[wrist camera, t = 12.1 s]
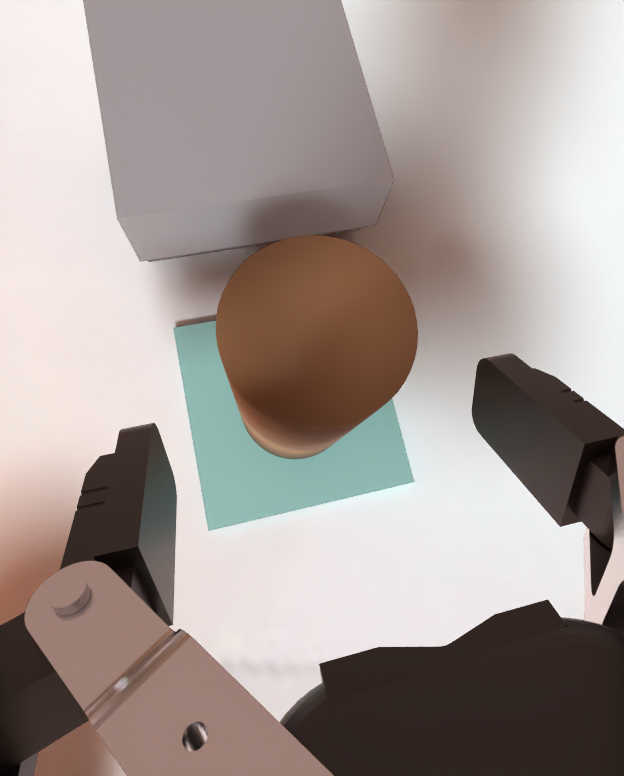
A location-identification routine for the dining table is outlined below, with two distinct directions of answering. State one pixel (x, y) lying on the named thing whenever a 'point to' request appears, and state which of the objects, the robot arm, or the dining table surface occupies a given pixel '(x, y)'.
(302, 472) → the teal pad
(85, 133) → the dining table surface
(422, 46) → the dining table surface
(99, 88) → the grey roller platform
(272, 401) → the roller
